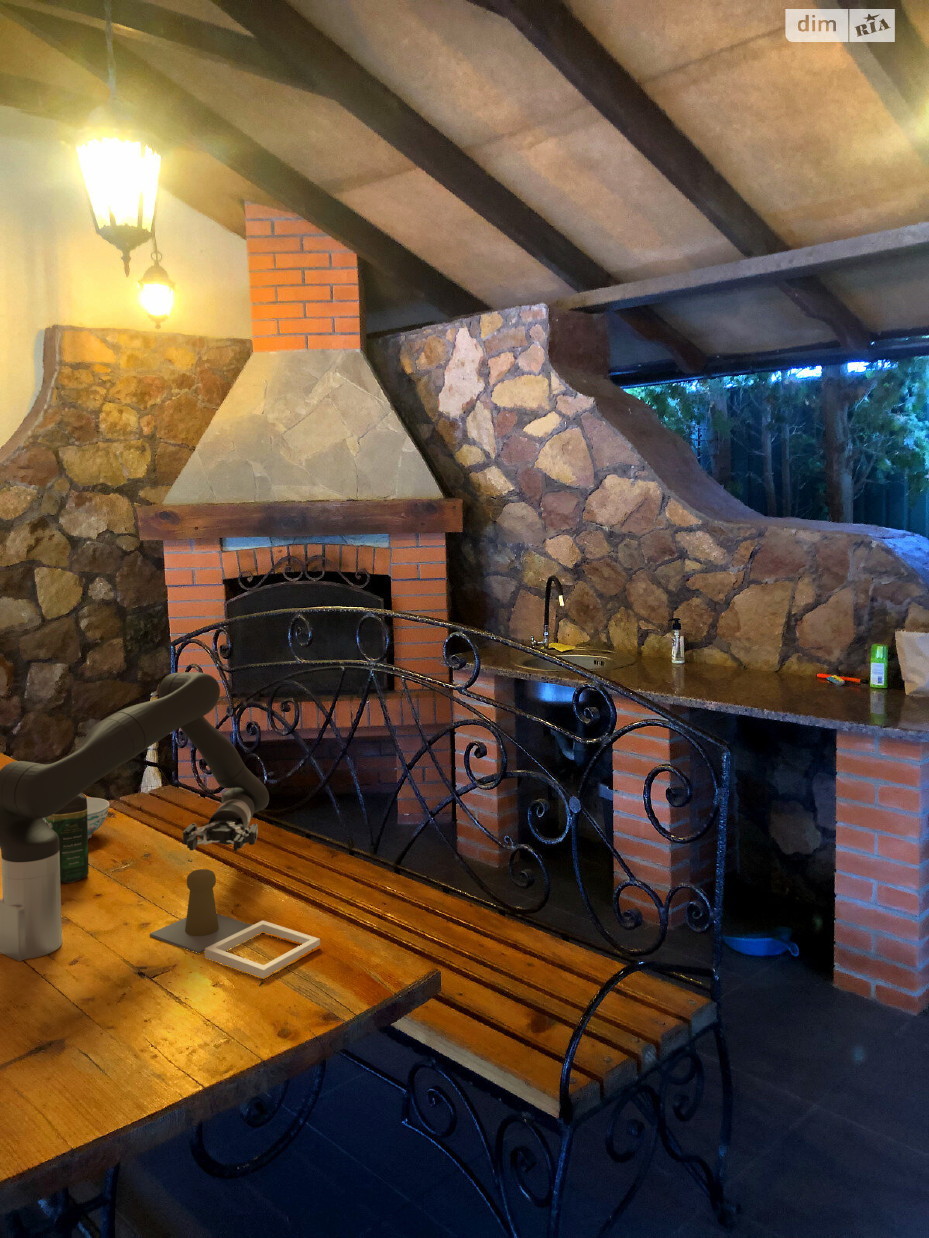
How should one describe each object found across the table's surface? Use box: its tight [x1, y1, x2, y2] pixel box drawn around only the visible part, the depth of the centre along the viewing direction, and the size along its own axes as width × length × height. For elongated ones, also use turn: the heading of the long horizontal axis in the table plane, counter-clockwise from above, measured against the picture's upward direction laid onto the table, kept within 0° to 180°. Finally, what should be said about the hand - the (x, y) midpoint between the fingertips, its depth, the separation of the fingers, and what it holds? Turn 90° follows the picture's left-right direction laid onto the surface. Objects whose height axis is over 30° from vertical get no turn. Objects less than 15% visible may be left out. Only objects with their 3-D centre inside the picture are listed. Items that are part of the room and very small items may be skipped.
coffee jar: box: [46, 792, 90, 884], centre depth 195 cm, size 10×8×19 cm
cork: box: [185, 868, 219, 936], centre depth 170 cm, size 6×6×11 cm
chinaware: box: [43, 796, 110, 840], centre depth 220 cm, size 15×15×8 cm
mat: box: [149, 913, 253, 954], centre depth 170 cm, size 13×13×1 cm
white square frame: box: [204, 920, 321, 978], centre depth 162 cm, size 14×14×2 cm
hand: (213, 845), depth 180 cm, fingers open, 8 cm apart
